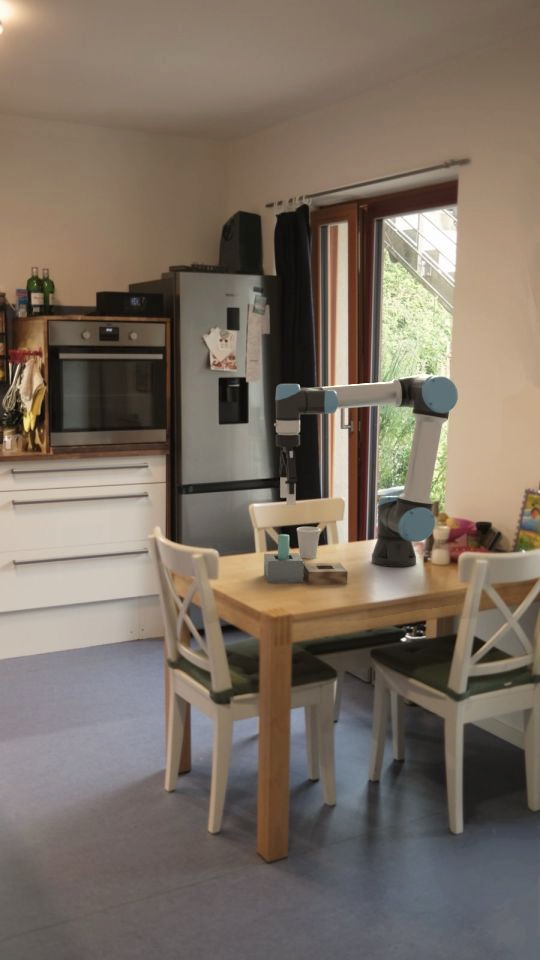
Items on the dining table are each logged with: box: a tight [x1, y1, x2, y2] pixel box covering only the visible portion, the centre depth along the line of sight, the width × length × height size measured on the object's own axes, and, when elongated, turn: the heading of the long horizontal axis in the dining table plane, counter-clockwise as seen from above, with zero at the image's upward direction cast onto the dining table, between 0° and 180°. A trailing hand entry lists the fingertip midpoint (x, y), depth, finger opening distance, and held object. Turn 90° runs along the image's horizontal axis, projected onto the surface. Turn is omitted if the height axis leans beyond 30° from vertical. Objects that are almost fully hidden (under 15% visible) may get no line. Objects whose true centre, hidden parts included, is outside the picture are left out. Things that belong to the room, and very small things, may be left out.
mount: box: [303, 562, 348, 586], centre depth 308 cm, size 12×12×4 cm
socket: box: [263, 552, 304, 584], centre depth 309 cm, size 11×11×7 cm
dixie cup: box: [296, 526, 321, 560], centre depth 341 cm, size 8×8×10 cm
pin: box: [277, 533, 290, 559], centre depth 308 cm, size 4×4×14 cm
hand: (287, 501), depth 307 cm, fingers open, 13 cm apart
